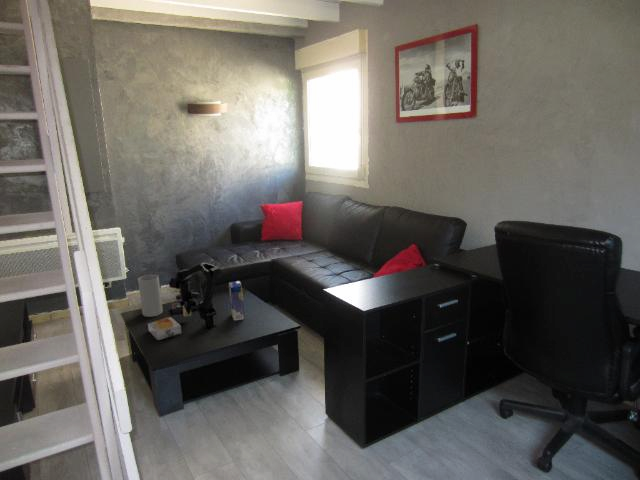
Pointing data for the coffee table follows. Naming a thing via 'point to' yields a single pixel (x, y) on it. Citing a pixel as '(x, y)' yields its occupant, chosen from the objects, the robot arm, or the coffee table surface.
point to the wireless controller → (179, 309)
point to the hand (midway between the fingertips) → (187, 313)
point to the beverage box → (236, 300)
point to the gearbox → (164, 328)
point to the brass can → (185, 312)
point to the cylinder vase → (150, 295)
